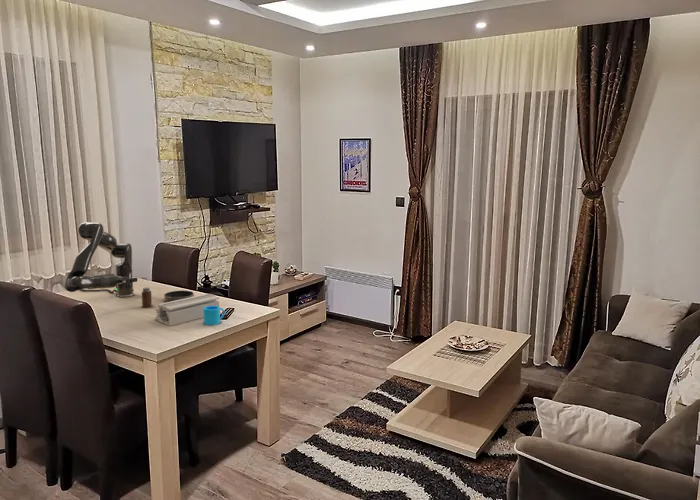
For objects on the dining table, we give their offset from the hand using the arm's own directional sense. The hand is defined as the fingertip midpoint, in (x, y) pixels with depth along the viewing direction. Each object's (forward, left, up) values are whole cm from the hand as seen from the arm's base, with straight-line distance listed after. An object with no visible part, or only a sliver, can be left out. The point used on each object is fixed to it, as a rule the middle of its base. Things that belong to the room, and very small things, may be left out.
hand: (132, 278), depth 283 cm
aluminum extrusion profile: (+35, +5, -18) cm, 40 cm away
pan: (+7, +29, -18) cm, 35 cm away
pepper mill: (+1, +9, -18) cm, 20 cm away
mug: (+54, +4, -18) cm, 58 cm away
